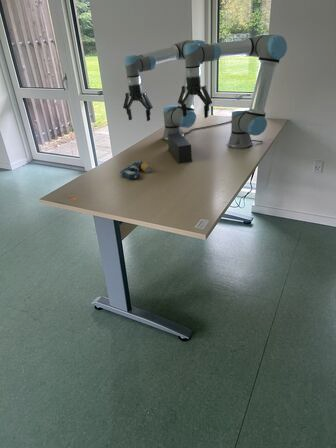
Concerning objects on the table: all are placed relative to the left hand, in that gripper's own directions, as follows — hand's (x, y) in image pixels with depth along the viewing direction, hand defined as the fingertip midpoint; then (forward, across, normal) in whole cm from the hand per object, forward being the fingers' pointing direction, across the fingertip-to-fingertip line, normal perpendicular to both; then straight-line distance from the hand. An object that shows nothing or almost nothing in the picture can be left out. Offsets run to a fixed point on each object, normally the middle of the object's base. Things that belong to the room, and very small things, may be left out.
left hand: (139, 120), depth 211 cm
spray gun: (+22, +13, -29) cm, 39 cm away
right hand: (-4, +40, -3) cm, 41 cm away
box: (+23, +24, +5) cm, 33 cm away
